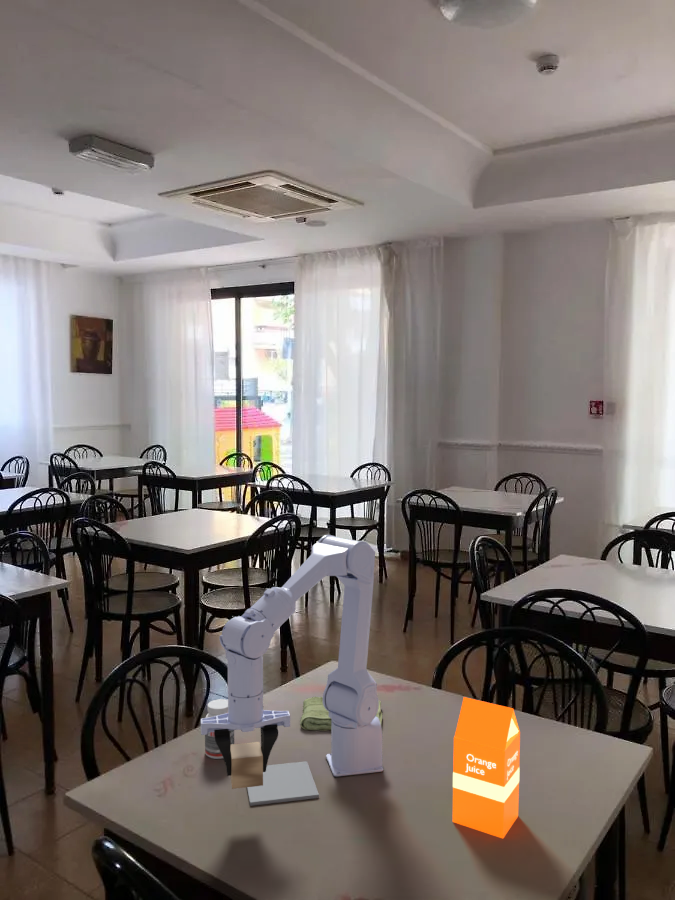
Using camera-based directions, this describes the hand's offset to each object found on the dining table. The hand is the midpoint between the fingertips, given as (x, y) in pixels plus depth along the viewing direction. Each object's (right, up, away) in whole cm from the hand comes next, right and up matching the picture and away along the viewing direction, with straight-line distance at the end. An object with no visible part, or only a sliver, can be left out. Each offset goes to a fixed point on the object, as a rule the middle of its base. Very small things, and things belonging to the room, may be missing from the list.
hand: (246, 770), depth 122 cm
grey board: (+5, -8, +12) cm, 15 cm away
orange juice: (+40, -9, +1) cm, 41 cm away
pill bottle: (-8, -7, +23) cm, 26 cm away
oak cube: (0, -1, 0) cm, 1 cm away
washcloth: (+16, -6, +39) cm, 43 cm away
